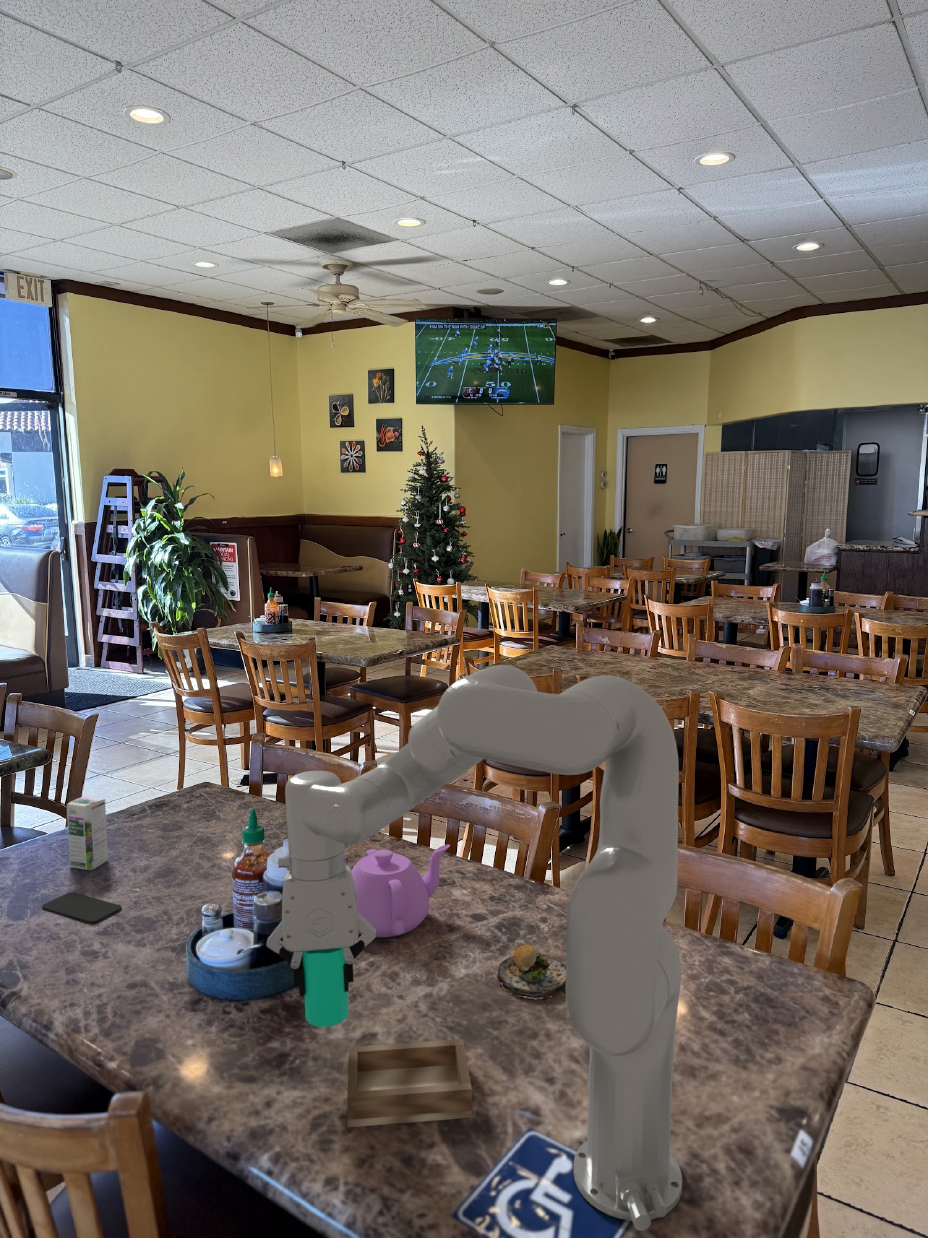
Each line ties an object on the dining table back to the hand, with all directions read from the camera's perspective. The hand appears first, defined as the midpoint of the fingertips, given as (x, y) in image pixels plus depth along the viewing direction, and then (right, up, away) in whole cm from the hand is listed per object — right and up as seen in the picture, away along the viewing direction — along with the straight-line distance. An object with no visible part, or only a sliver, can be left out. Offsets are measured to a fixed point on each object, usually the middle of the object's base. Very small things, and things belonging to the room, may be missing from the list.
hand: (324, 987), depth 118 cm
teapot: (+6, -7, +45) cm, 46 cm away
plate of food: (+31, -10, +25) cm, 41 cm away
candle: (0, -4, 0) cm, 4 cm away
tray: (+12, -13, -3) cm, 18 cm away
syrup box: (-63, -3, +69) cm, 93 cm away
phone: (-55, -6, +49) cm, 74 cm away
